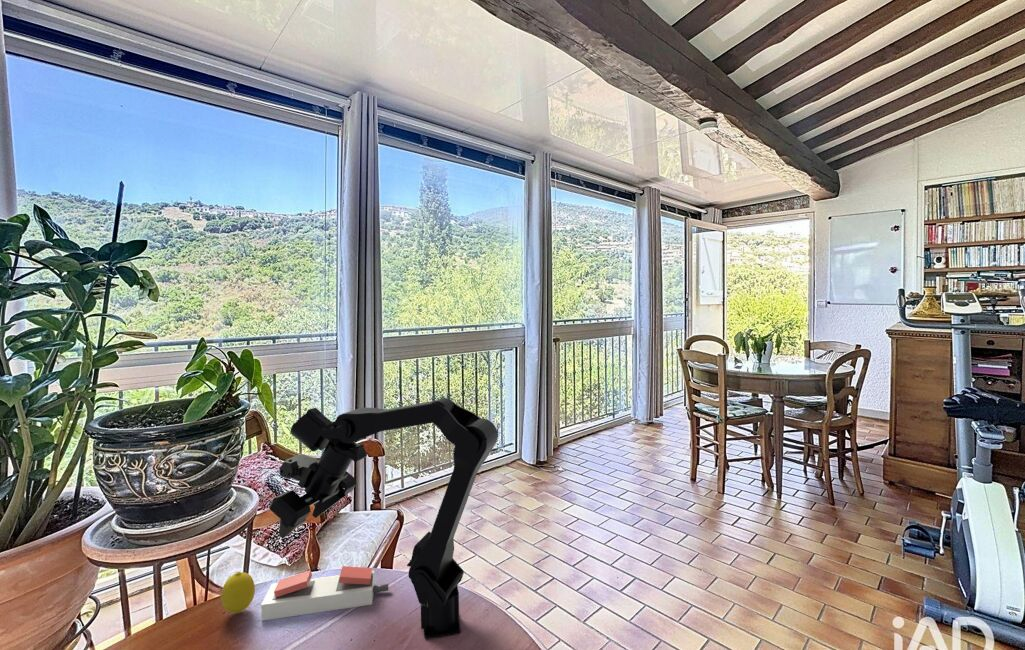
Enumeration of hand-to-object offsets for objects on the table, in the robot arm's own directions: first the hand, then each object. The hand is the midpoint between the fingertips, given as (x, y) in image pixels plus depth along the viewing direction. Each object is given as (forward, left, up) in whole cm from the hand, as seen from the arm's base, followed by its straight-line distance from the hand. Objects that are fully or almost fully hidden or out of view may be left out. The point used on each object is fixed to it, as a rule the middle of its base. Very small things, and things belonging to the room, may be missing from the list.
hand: (298, 526), depth 92 cm
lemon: (+11, +2, -15) cm, 19 cm away
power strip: (-6, +2, -15) cm, 16 cm away
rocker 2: (-11, +2, -11) cm, 16 cm away
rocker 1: (+1, +2, -11) cm, 11 cm away
